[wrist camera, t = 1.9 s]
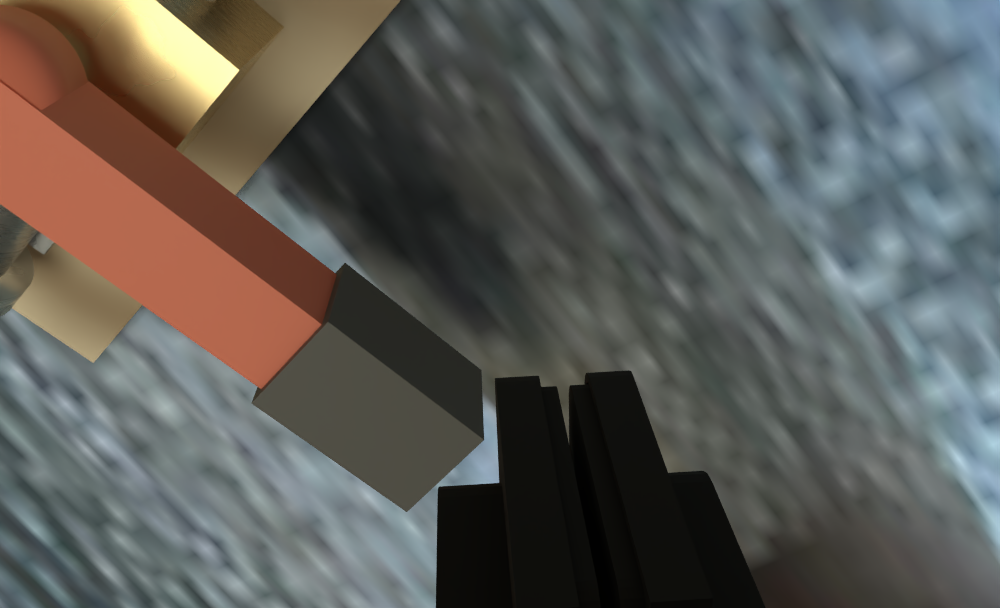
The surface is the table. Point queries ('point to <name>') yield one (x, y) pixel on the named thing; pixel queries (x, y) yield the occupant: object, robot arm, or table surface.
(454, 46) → the table surface
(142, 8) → the pipe valve
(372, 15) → the mounting board
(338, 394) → the valve lever
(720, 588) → the robot arm
